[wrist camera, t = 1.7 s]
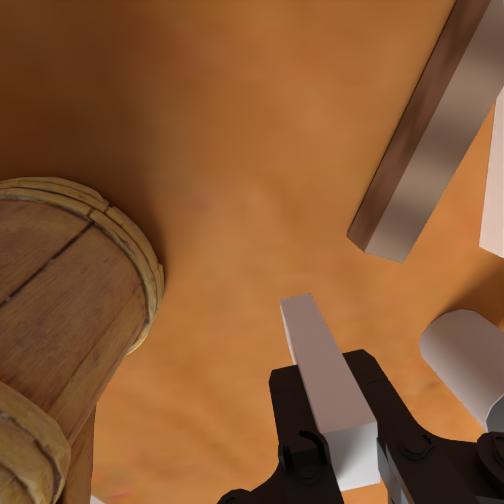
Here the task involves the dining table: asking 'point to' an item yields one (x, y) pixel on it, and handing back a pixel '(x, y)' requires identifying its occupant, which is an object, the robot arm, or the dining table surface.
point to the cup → (469, 363)
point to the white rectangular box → (495, 187)
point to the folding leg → (434, 130)
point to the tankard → (64, 329)
